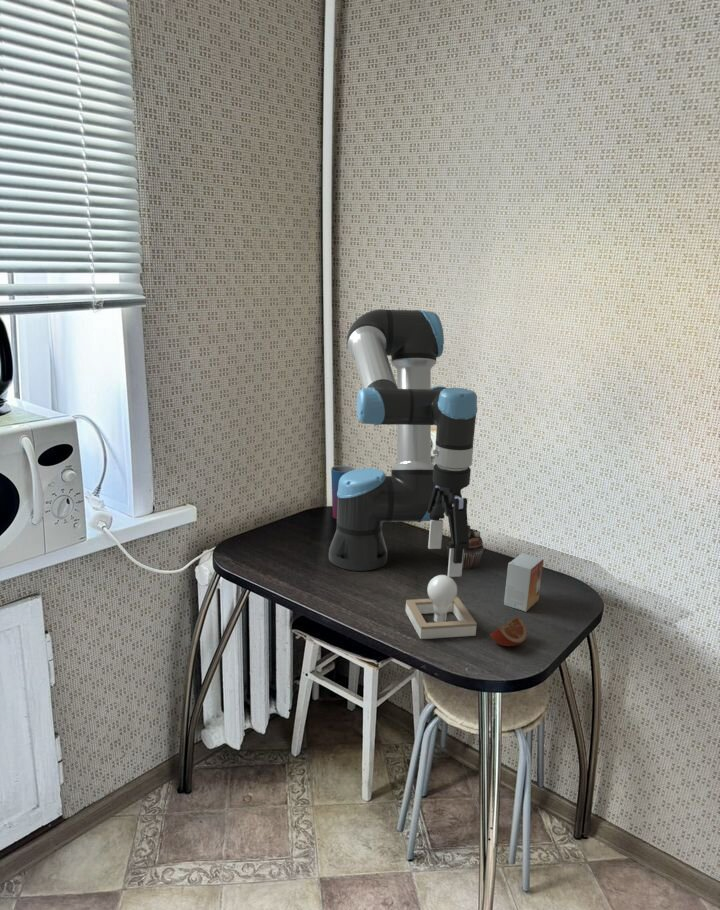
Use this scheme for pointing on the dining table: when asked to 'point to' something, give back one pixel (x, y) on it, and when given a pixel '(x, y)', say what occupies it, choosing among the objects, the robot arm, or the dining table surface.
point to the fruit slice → (510, 633)
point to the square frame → (440, 629)
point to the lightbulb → (441, 595)
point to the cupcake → (471, 549)
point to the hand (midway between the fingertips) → (444, 561)
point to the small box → (523, 582)
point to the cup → (336, 475)
